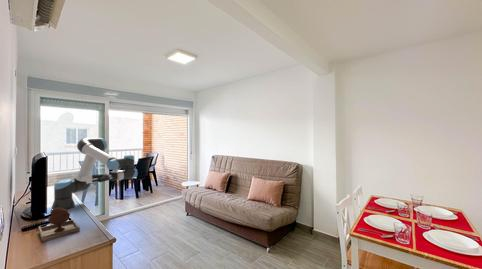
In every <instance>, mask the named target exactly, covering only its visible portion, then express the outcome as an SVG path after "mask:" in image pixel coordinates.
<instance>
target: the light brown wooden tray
mask: <svg viewBox="0 0 482 269" xmlns="http://www.w3.org/2000/svg"><path fill="white" fill-rule="evenodd" d="M61 227H62V228H65V230H64V231H61V232H54V230H56V229H57V228H58V225H54V224H50V225H46V226H42V227H39V228H38V234H39V236H40V240H41V242H42V243H44V242H48V241H51V240H55V239H59V238H62V237H65V236H69V235H72V234H76V233H80V229H81V228H80V226H79V225H78V223H77V222H76V221H75V219H70V220H69V219H68V220H67V221H66V222H64V223H63V224H61Z"/></svg>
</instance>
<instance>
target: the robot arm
mask: <svg viewBox="0 0 482 269" xmlns="http://www.w3.org/2000/svg"><path fill="white" fill-rule="evenodd" d="M76 148H77V150H78V151H79V152H80V153H81V154H83V155H85V157H84V160H83V162H82V164H81V167H80V170H79V171H78V174H76V175H75V176H74V178H73V179H72V178H66V179H60V180H58V181H56V182H55V183H54V185H53V186H54V187H53V192H54V195H53V197H54V198H53V199H54V200H53V202H52V205H51V210H52V209H54V208H61V209H66V210H67V211H68V210H70V209H72V208H75V206H76V204H75V201H74V199H73V194H75V193H79V192H84V191H86V190H87V191H88V190H89V189H90V188H91V187H92V186H91V185H92V184H93V183H104V182H106V181H110V182H115V181H122V180H128V179H134V178H137V177H138V169H137V168H135V156H134V155H133V154H127V155H126V154H125V155H124V156H123V158H116V157H115V156H112V155H110V154H109V153H106V152H105V150H107V148H108V143H107V141H106V140H105V138H103V137H91V138H90V137H86V138H85V137H84V138H82V139H81V140H78V142H77V145H76ZM96 161H99V162H100V163H103V164H105V165H106V168H107V169H108V170H110V172H109V174H108V173H104V174H92V175H91V173H92V172H93V169H94V167H95V163H96ZM119 169H120V170H119ZM121 169H122V170H121ZM111 170H112V171H111Z"/></svg>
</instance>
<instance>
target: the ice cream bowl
mask: <svg viewBox="0 0 482 269" xmlns="http://www.w3.org/2000/svg"><path fill="white" fill-rule="evenodd" d="M50 215H51V216H48V219H47V220H48V222H49V224H50V225H53V224H54V225H58V228H57V229H56V230H54V232H61V231H64V230H65V228H62V227H61V224H63V223H64V222H66V221H69V219H70V217H71V213H70V212H69V210H68V209H67V210H66V209H61V208H54V209H53V210H52V209H51V210H50Z"/></svg>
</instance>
